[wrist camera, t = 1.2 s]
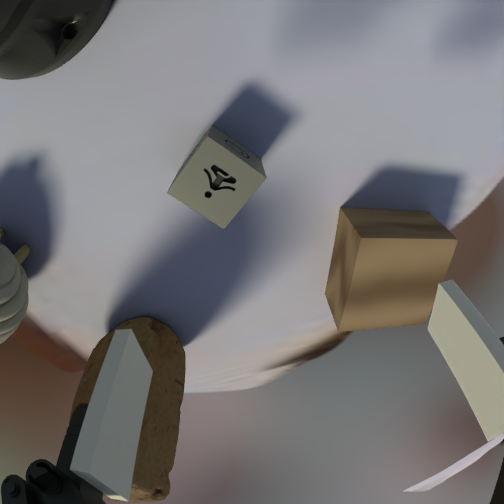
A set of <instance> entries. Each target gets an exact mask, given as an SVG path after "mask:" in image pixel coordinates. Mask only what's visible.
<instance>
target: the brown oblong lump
mask: <svg viewBox="0 0 504 504" xmlns="http://www.w3.org/2000/svg"><path fill="white" fill-rule="evenodd" d="M122 329H132V331H133V333H134V335H135V337H136V339H137V341H138V343H139V345H140V347H141V349H142V351H143V353H144V355H145V357H146V359H147V361H148V363H149V365H150V366H151V368H152V370H153V373H152V378H151V382H150V387H149V392H148V397H147V401H146V406H145V411H144V416H143V421H142V427H141V432H140V437H139V443H138V448H137V454H136V460H135V466H134V472H133V478H132V484H131V491H130V498H129V502H134V503H138V502H156V501H160V500H163V499H165V498H166V497H167V495H168V494H169V491H170V481H169V478H168V476H169V472H170V471H171V470H172V467H173V465H174V458H175V452H176V445H177V440H178V433H179V423H180V406H181V403H182V400H183V394H184V383H185V351H184V349H183V347H182V345H181V343H180V341H179V339H178V337H177V336H176V334H175V333H174V332H173V331H172V330H171V328H170V327H168V326H167V325H166V324H162V323H159V322H158V321H155V320H154V319H153V318H150V317H138V318H134V319H130V320H127V321H125V322H123V323H122V324H120V325H118V326H117V327H116V328H115V329H114V330H113V331H110V332H109V333H108V334H106V335H105V336H104V337H103V338H102V339H101V340H100V341H99V342H98V344H97V345H96V347H95V348H94V349H93V351H92V353H91V355H90V357H89V360H88V362H87V364H86V367H85V370H84V372H83V375H82V378H81V381H80V384H79V386H78V389H77V392H76V395H75V398H74V401H73V405H72V410H71V415H70V419H71V416H72V414H73V412H74V411H75V409H76V408H77V407H78V405H79V404H80V403H88V404H89V402H90V399H91V396H92V393H93V390H94V388H95V385H96V382H97V379H98V376H99V373H100V370H101V368H102V365H103V362H104V359H105V357H106V354H107V351H108V349H109V346H110V343H111V341H112V338H113V336H114V333H115V331H116V330H122ZM69 422H70V421H69ZM103 498H105V499H107V500H112V501H120V500H117V499H111V498H110V497H108V496H106V495H105V494H103ZM123 501H124V500H123Z"/></svg>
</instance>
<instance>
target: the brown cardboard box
mask: <svg viewBox="0 0 504 504" xmlns="http://www.w3.org/2000/svg"><path fill="white" fill-rule="evenodd" d="M457 241H458V239H457V238H456V237H455V236H454V235H453V234H452V233H451V232H450V231H449V230H447V229H446V228H445V227H444V226H443V225H442V224H441V223H440V222H439V221H438V220H437V219H436V218H434V217H433V216H432V215H431V214H430V213H429V212H422V211H405V210H387V209H365V208H340V211H339V218H338V224H337V230H336V236H335V242H334V248H333V254H332V259H331V265H330V270H329V276H328V281H327V286H326V291H325V295H326V298H327V301H328V304H329V307H330V309H331V312H332V315H333V318H334V321H335V324H336V327H337V329H338V332H340V331H353V330H366V329H376V328H386V327H397V326H406V325H415V324H423V323H426V320H427V318H428V316H429V313H430V311H431V309H432V307H433V305H434V302H435V297H436V293H437V289H438V284H439V283H440V282H443V280H444V277H445V275H446V272H447V269H448V267H449V264H450V261H451V259H452V256H453V253H454V250H455V247H456V244H457Z"/></svg>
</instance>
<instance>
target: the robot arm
mask: <svg viewBox="0 0 504 504" xmlns="http://www.w3.org/2000/svg"><path fill="white" fill-rule="evenodd" d="M112 1H113V0H0V78H2V79H9V80H17V79H25V78H32V77H37V76H41V75H44V74H46V73H49V72H51V71H53V70H55V69H57V68H59V67H60V66H62V65H63V64H65V63H66V62H68V61H69V60H70V59H71V58H73V57H74V56H75V55H76V54H77V53H78V52H79V51H80V50H81V49H82V48H83V47H84V46H85V45H86V44H87V43H88V42H89V41H90V39H91V38H92V37H93V36H94V34H95V33H96V32H97V30H98V29H99V27H100V26H101V24H102V22H103V21H104V19H105V17H106V15H107V13H108V11H109V9H110V6H111V4H112ZM428 331H429V333H430V334H431V336H432V338H433V339H434V341H435V343H436V344H437V346H438V348H439V349H440V351H441V353H442V355H443V356H444V358H445V360H446V361H447V363H448V365H449V367H450V369H451V370H452V372H453V374H454V376H455V377H456V379H457V381H458V383H459V385H460V386H461V388H462V390H463V392H464V394H465V396H466V398H467V400H468V402H469V404H470V406H471V408H472V410H473V411H474V413H475V416H476V418H477V420H478V422H479V424H480V426H481V428H482V430H483V432H484V434H485V436H486V438H487V441H490V440H492V439H494V438H496V437H497V436H499V435H501V434H503V432H504V337H502V338H498V336H497V335H496V334H495V332H494V331H493V330H492V328H491V327H490V326H489V324H488V323H487V322H486V320H485V319H484V318H483V317H482V315H481V314H480V313H479V312H478V310H477V309H476V308H475V306H474V305H473V304H472V303H471V302H470V300H469V299H468V298H467V297H466V295H465V294H464V293H463V292H462V291H461V289H460V288H459V287H458V286H457V285H456V283H455V282H454V281H453V280H449V281H445V282H440V283H439V284H438V289H437V293H436V297H435V302H434V306H433V310H432V314H431V318H430V322H429V326H428ZM152 373H153V370H152V368H151V366H150V365H149V363H148V361H147V359H146V357H145V355H144V353H143V351H142V349H141V347H140V345H139V343H138V341H137V339H136V337H135V335H134V333H133V331H132V329H122V330H116V331H115V333H114V336H113V338H112V341H111V343H110V346H109V349H108V351H107V354H106V357H105V359H104V362H103V365H102V368H101V370H100V373H99V376H98V379H97V382H96V385H95V388H94V390H93V393H92V396H91V399H90V402H89V404H88V403H80V404H79V405H78V407H77V408H76V409H75V411H74V412H73V414H72V416H71V419H70V422H69V427H68V429H67V432H66V435H65V438H64V441H63V445H62V448H61V451H60V454H59V458H58V461H57V465H56V467H55V466H54V465H53V464H52V463H50V462H49V461H47V460H44V459H39V460H36V461H34V462H33V463H31V464H30V466H29V467H28V469H27V472H26V481H25V480H23V479H22V478H21V477H19V476H17V475H9V476H7V477H6V479H4V481H3V483H2V487H1V495H2V504H106V503H105V502H104V501H103V500H102V498H103V494H105V495H106V496H108V497H110V498H111V499H117V500H124V501H129V498H130V491H131V484H132V478H133V472H134V466H135V460H136V454H137V448H138V443H139V437H140V432H141V427H142V421H143V416H144V411H145V406H146V401H147V397H148V392H149V387H150V382H151V378H152ZM503 445H504V439H503V441H502V442H501V445H500V446H503ZM490 504H504V458H503V462H502V466H501V470H500V473H499V477H498V480H497V483H496V487H495V490H494V493H493V496H492V499H491V502H490Z"/></svg>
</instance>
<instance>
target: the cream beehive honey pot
mask: <svg viewBox="0 0 504 504" xmlns="http://www.w3.org/2000/svg"><path fill="white" fill-rule="evenodd" d="M3 236H4V231H3V229H2V228H0V239H1V238H2V237H3ZM29 254H30V248H29V246H27V245H23V246H22V247H21V248H20V249H19V250H18V251H17V252H16V253H15V254H14V255H13V254H12V252H11V251H10V250H9V249H8V248H7V247H6V246H5V245H2V244H0V343H2V342H3V341H4V340H6V339H7V338H8V337H9V336H10V335H11V334H12V333H13V332H14V331H15V330H16V329H17V327H18V326H19V324H20V322H21V320H22V319H23V318H24V316H25V314H26V311H27V307H28V280H27V276H26V273H25V271H24V269H23V267H22V265H21V263H22V262H23V261H24V260H25V258H26V257H27V256H28V255H29Z"/></svg>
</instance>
